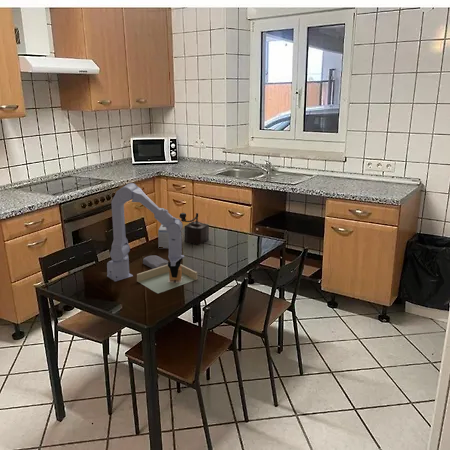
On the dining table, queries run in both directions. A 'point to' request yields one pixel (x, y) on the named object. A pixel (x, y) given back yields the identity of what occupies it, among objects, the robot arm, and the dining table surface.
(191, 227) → the pepper mill
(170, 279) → the cube
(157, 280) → the tray
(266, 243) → the dining table surface
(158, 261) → the stone block
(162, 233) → the light bulb box
